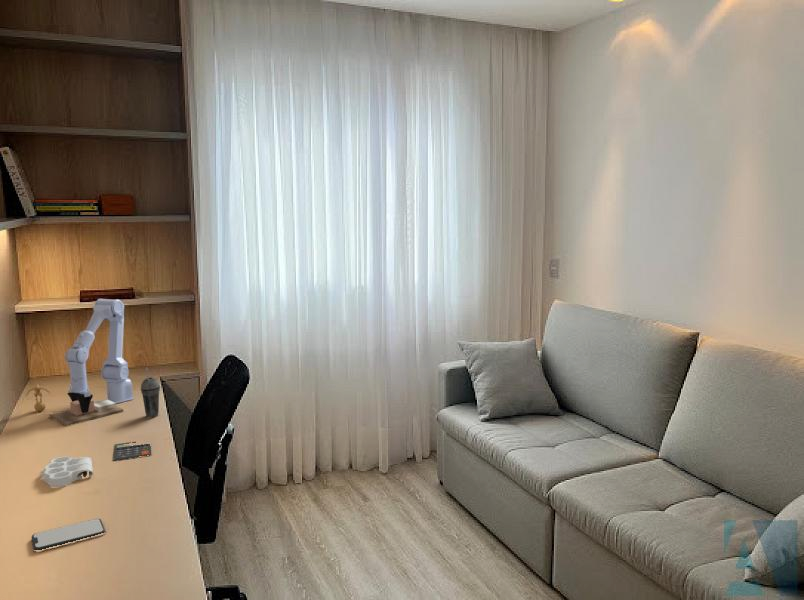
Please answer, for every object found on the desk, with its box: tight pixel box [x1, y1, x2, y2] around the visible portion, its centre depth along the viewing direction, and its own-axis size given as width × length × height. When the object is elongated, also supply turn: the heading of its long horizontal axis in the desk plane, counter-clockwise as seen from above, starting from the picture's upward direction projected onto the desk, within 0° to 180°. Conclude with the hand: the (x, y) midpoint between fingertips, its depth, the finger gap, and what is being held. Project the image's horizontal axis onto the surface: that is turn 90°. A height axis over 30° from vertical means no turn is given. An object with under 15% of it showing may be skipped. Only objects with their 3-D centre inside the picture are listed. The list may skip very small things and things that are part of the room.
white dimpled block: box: [39, 456, 94, 488], centre depth 197 cm, size 3×18×15 cm
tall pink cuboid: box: [69, 398, 95, 416], centre depth 252 cm, size 7×5×4 cm
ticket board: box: [49, 398, 124, 427], centre depth 253 cm, size 22×16×3 cm
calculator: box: [112, 441, 152, 462], centre depth 216 cm, size 12×1×15 cm
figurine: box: [26, 383, 51, 412], centre depth 256 cm, size 8×6×12 cm
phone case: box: [31, 518, 106, 551], centre depth 161 cm, size 9×2×16 cm
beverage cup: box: [140, 367, 161, 418], centre depth 250 cm, size 7×7×20 cm
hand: (81, 410), depth 252 cm, fingers open, 6 cm apart
